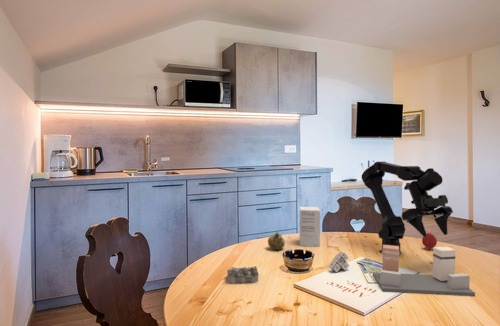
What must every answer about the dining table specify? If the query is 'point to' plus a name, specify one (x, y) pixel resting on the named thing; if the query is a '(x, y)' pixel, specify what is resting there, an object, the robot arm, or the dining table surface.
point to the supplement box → (310, 226)
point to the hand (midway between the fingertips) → (435, 235)
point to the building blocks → (339, 262)
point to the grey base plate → (423, 283)
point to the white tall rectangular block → (443, 262)
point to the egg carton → (242, 275)
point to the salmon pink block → (390, 258)
